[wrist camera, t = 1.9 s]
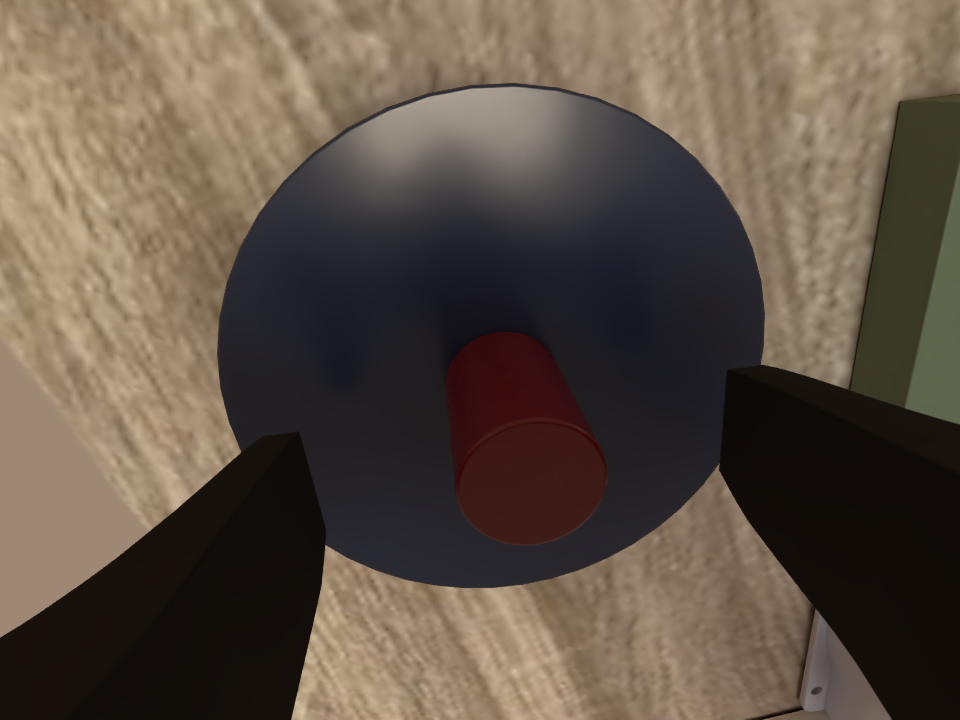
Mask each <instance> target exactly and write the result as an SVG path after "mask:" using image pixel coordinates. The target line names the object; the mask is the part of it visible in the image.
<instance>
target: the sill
mask: <svg viewBox="0 0 960 720" xmlns="http://www.w3.org/2000/svg"><path fill="white" fill-rule="evenodd" d="M850 391H853V392H856V393H860V394H863V395H866V396H869V397H872V398H875V399H878V400H881V401H884V402H887V403H890V404H893V405H897V406H900V407H903V408H906V409H909V410H913V411H916V412H919V413H922V414H926V415H929V416H932V417H936V418H939V419H943V420H946V421H950V422H953V423H957V424H960V94H956V95H948V96H940V97H932V98H923V99H915V100H907V101H902V102H901V103H900V108H899V114H898V120H897V126H896V131H895V137H894V143H893V148H892V154H891V160H890V166H889V171H888V177H887V183H886V188H885V194H884V200H883V205H882V211H881V217H880V223H879V228H878V234H877V240H876V245H875V251H874V257H873V263H872V268H871V274H870V280H869V285H868V291H867V297H866V302H865V308H864V314H863V320H862V325H861V331H860V337H859V342H858V348H857V354H856V360H855V365H854V371H853V377H852V382H851V388H850Z"/></svg>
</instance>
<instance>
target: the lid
mask: <svg viewBox="0 0 960 720" xmlns="http://www.w3.org/2000/svg"><path fill="white" fill-rule="evenodd" d="M764 321H765V312H764V302H763V293H762V284H761V279H760V275H759V271H758V267H757V263H756V259H755V255H754V252H753V248H752V246H751V243H750V241H749V239H748V236H747V234H746V232H745V229H744V227H743V224H742V222H741V220H740V217H739V216H738V214H737V212H736V211H735V209H734V207H733V206H732V204H731V203H730V201H729V199H728V198H727V196H726V195H725V193H724V191H723V190H722V188H721V187H720V185H719V184H718V183H717V182H716V181H715V180H714V178H713V177H712V176H711V175H710V174H709V173H708V171H707V170H706V169H705V168H704V167H703V166H702V164H701V163H700V162H699V161H698V160H697V159H696V158H695V157H694V156H693V155H692V154H691V153H689V152H688V151H687V150H686V149H685V148H684V147H682V146H681V145H680V144H679V143H678V142H676V141H675V140H674V139H673V138H672V137H671V136H669V135H668V134H667V133H665V132H664V131H662V130H660V129H659V128H657V127H655V126H654V125H652V124H651V123H649V122H647V121H646V120H644V119H642V118H641V117H639V116H638V115H636V114H634V113H632V112H630V111H627V110H625V109H622V108H620V107H618V106H615V105H613V104H611V103H608V102H606V101H604V100H601V99H599V98H596V97H592V96H588V95H584V94H580V93H576V92H572V91H569V90H565V89H561V88H557V87H547V86H537V85H527V84H518V83H507V84H485V85H469V86H464V87H459V88H453V89H448V90H443V91H438V92H433V93H428V94H425V95H422V96H419V97H416V98H413V99H410V100H407V101H405V102H402V103H399V104H396V105H393V106H390V107H387V108H385V109H383V110H381V111H379V112H377V113H376V114H374V115H372V116H370V117H368V118H366V119H364V120H362V121H360V122H358V123H356V124H354V125H352V126H350V127H348V128H347V129H346V130H344V131H343V132H341V133H340V134H339V135H337V136H336V137H334V138H333V139H332V140H330V141H329V142H327V143H326V144H325V145H323V146H322V147H320V148H319V149H318V150H316V151H315V152H314V153H312V154H311V155H310V156H309V157H308V158H307V159H306V160H305V161H304V162H303V163H302V164H301V165H300V166H299V167H298V168H297V169H296V170H295V171H294V172H293V173H292V174H291V175H290V176H289V177H288V178H287V179H286V180H285V181H283V183H282V184H281V185H280V187H279V188H278V189H277V191H276V192H275V193H274V194H273V196H272V197H271V198H270V200H269V201H268V202H267V204H266V205H265V206H264V207H263V209H262V210H261V211H260V213H259V214H258V216H257V218H256V219H255V221H254V223H253V225H252V227H251V228H250V230H249V232H248V234H247V236H246V238H245V239H244V241H243V243H242V245H241V247H240V248H239V251H238V254H237V257H236V259H235V262H234V265H233V267H232V270H231V273H230V275H229V278H228V281H227V283H226V288H225V293H224V298H223V303H222V308H221V312H220V317H219V330H218V349H217V358H218V368H219V378H220V388H221V392H222V396H223V400H224V404H225V408H226V412H227V416H228V420H229V423H230V426H231V428H232V431H233V433H234V435H235V438H236V440H237V443H238V445H239V448H240V450H241V452H243V451H244V450H245V449H246V448H248V447H249V446H250V445H251V444H253V443H254V442H255V441H257V440H258V439H259V438H261V437H263V436H270V435H277V434H284V433H291V432H298V431H299V432H300V436H301V439H302V443H303V447H304V450H305V454H306V458H307V461H308V465H309V469H310V472H311V476H312V479H313V483H314V487H315V490H316V494H317V498H318V501H319V505H320V509H321V512H322V516H323V519H324V523H325V527H326V541H325V545H327V546H328V547H330V548H332V549H333V550H335V551H337V552H339V553H340V554H342V555H344V556H345V557H347V558H349V559H351V560H353V561H356V562H358V563H360V564H362V565H365V566H367V567H369V568H372V569H374V570H376V571H379V572H383V573H386V574H389V575H392V576H395V577H398V578H402V579H405V580H410V581H415V582H420V583H425V584H430V585H436V586H447V587H458V588H496V587H505V586H514V585H523V584H528V583H533V582H538V581H542V580H547V579H552V578H555V577H558V576H561V575H565V574H568V573H571V572H574V571H577V570H580V569H583V568H585V567H588V566H590V565H592V564H595V563H597V562H599V561H602V560H604V559H606V558H609V557H610V556H612V555H614V554H616V553H618V552H620V551H621V550H623V549H625V548H627V547H629V546H631V545H632V544H634V543H636V542H637V541H638V540H640V539H641V538H643V537H644V536H646V535H647V534H649V533H650V532H652V531H653V530H655V529H656V528H657V527H659V526H660V525H661V524H662V523H664V522H665V521H666V520H667V519H668V518H669V517H671V516H672V515H673V514H674V513H675V512H677V511H678V510H679V509H680V508H681V507H682V506H683V505H684V504H685V503H686V502H687V501H688V500H689V499H690V498H691V497H692V496H693V495H694V494H695V493H696V492H697V491H698V490H699V488H700V487H701V486H702V485H703V484H704V483H705V481H706V480H707V479H708V477H709V476H710V475H711V474H712V472H713V471H714V470H715V468H716V467H717V466H718V464H719V463H720V452H721V439H722V426H723V413H724V400H725V387H726V374H727V370H729V369H736V368H743V367H750V366H757V365H761V359H762V353H763V347H764Z"/></svg>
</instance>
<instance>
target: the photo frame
mask: <svg viewBox="0 0 960 720" xmlns="http://www.w3.org/2000/svg"><path fill="white" fill-rule="evenodd" d="M764 720H831V718H830V717H829V715H828V714H827V712H826V711H825V710H819V711H813V712H808V711H805V710H801V711H797V712H793V713H789V714H784V715H780V716H776V717H772V718H768V719H764Z"/></svg>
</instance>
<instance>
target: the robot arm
mask: <svg viewBox="0 0 960 720" xmlns="http://www.w3.org/2000/svg"><path fill="white" fill-rule="evenodd" d="M719 471H720V473H721V475H722V476H723V478H724V480H725V482H726V484H727V486H728V487H729V489H730V491H731V493H732V495H733V497H734V498H735V500H736V502H737V503H738V505H739V507H740V509H741V510H742V512H743V514H744V515H745V517H746V519H747V520H748V521H749V523H750V524H751V525H752V527H753V528H754V530H755V531H756V532H757V534H758V535H759V536H760V537H761V539H762V540H763V541H764V543H765V544H766V545H767V547H768V548H769V549H770V551H771V552H772V553H773V555H774V556H775V557H776V558H777V560H778V561H779V562H780V564H781V565H782V566H783V567H784V569H785V570H786V571H787V573H788V574H789V575H790V576H791V578H792V579H793V580H794V582H795V583H796V584H797V585H798V587H799V588H800V589H801V591H802V592H803V593H804V594H805V596H806V597H807V598H808V600H809V601H810V602H811V603H812V605H813V606H814V607H815V614H814V620H813V626H812V631H811V637H810V642H809V648H808V653H807V659H806V665H805V670H804V676H803V681H802V687H801V693H800V698H799V703H800V704H801V706H802V707H803V709H804V710H805V711H808V712H813V711H819V710H825V711H826V712H827V714H828V715H829V717H830V718H831V720H960V424H957V423H953V422H950V421H946V420H943V419H939V418H936V417H932V416H929V415H926V414H922V413H919V412H916V411H913V410H909V409H906V408H903V407H900V406H897V405H893V404H890V403H887V402H884V401H881V400H878V399H875V398H872V397H869V396H866V395H863V394H860V393H856V392H853V391H850V390H847V389H844V388H841V387H838V386H835V385H832V384H829V383H826V382H823V381H820V380H817V379H814V378H810V377H807V376H804V375H801V374H797V373H794V372H790V371H787V370H783V369H779V368H775V367H771V366H766V365H757V366H750V367H743V368H736V369H729V370H727V374H726V387H725V400H724V413H723V426H722V439H721V452H720V465H719ZM325 541H326V527H325V523H324V519H323V516H322V512H321V509H320V505H319V501H318V498H317V494H316V490H315V487H314V483H313V479H312V476H311V472H310V469H309V465H308V461H307V458H306V454H305V450H304V447H303V443H302V439H301V436H300V432H299V431H298V432H291V433H284V434H277V435H270V436H263V437H261V438H259V439H258V440H257V441H255V442H254V443H253V444H251V445H250V446H249V447H248V448H246V449H245V450H244V451H243V452H242V453H240V454H239V455H238V456H237V457H236V458H235V459H234V460H232V461H231V462H230V463H229V464H228V465H227V466H226V467H224V468H223V469H222V470H221V471H220V472H219V473H218V474H217V475H215V476H214V477H213V478H212V479H211V480H210V481H209V482H207V483H206V484H205V485H204V486H203V487H202V488H201V489H199V490H198V491H197V492H196V493H195V494H194V495H193V496H191V497H190V498H189V499H188V500H187V501H186V502H185V503H183V504H182V505H181V506H180V507H179V508H178V509H177V510H175V511H174V512H173V513H172V514H171V515H169V516H168V517H167V518H166V519H164V520H163V521H162V522H161V523H159V524H158V525H157V526H156V527H154V528H153V529H152V530H151V531H150V532H148V533H147V534H146V535H145V536H143V537H142V538H141V539H140V540H139V541H137V542H136V543H135V544H133V545H132V546H131V547H130V548H129V549H127V550H126V551H125V552H124V553H123V554H121V555H120V556H119V557H117V558H116V559H115V560H113V561H112V562H111V563H109V564H108V565H107V566H105V567H104V568H103V569H101V570H100V571H99V572H97V573H96V574H95V575H93V576H92V577H90V578H89V579H88V580H86V581H85V582H84V583H82V584H81V585H79V586H78V587H77V588H75V589H73V590H72V591H71V592H69V593H68V594H66V595H65V596H63V597H62V598H61V599H59V600H58V601H56V602H55V603H53V604H52V605H50V606H49V607H47V608H46V609H45V610H43V611H42V612H40V613H39V614H37V615H36V616H34V617H33V618H31V619H29V620H28V621H26V622H25V623H23V624H22V625H20V626H19V627H17V628H15V629H14V630H12V631H10V632H9V633H7V634H5V635H4V636H2V637H1V638H0V720H291V718H292V714H293V709H294V705H295V701H296V696H297V692H298V688H299V683H300V679H301V674H302V670H303V666H304V661H305V657H306V653H307V648H308V644H309V640H310V635H311V631H312V626H313V622H314V617H315V613H316V608H317V604H318V599H319V595H320V590H321V585H322V575H323V565H324V554H325Z"/></svg>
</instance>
